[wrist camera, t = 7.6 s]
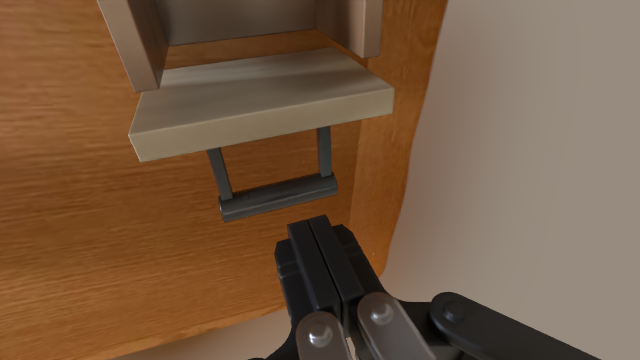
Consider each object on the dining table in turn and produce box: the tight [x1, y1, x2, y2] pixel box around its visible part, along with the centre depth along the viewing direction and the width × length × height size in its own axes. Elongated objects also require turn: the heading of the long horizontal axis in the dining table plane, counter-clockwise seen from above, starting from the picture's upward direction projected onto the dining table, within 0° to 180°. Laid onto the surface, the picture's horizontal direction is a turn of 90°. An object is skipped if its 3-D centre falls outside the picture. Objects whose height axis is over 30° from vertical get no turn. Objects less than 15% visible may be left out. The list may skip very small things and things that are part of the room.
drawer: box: [97, 0, 395, 222], centre depth 13 cm, size 19×10×7 cm, turn 3°
